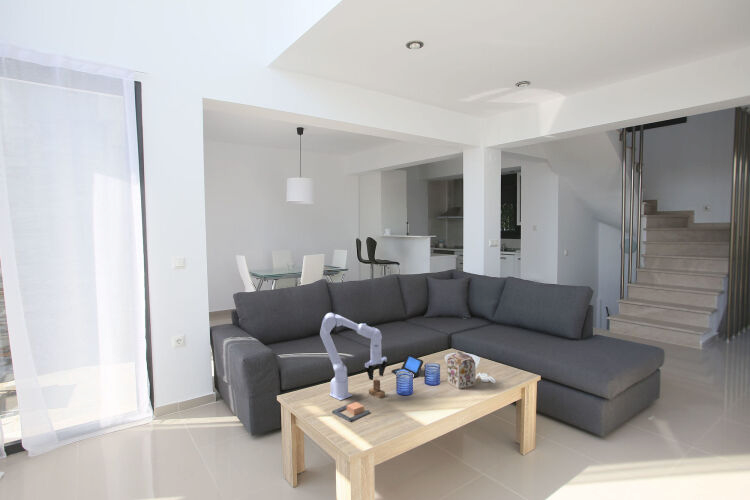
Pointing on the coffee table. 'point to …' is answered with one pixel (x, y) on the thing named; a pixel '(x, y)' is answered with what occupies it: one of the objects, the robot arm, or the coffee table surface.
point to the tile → (355, 408)
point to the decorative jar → (461, 370)
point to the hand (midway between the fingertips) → (376, 377)
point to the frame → (337, 412)
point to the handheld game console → (410, 365)
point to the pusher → (376, 389)
